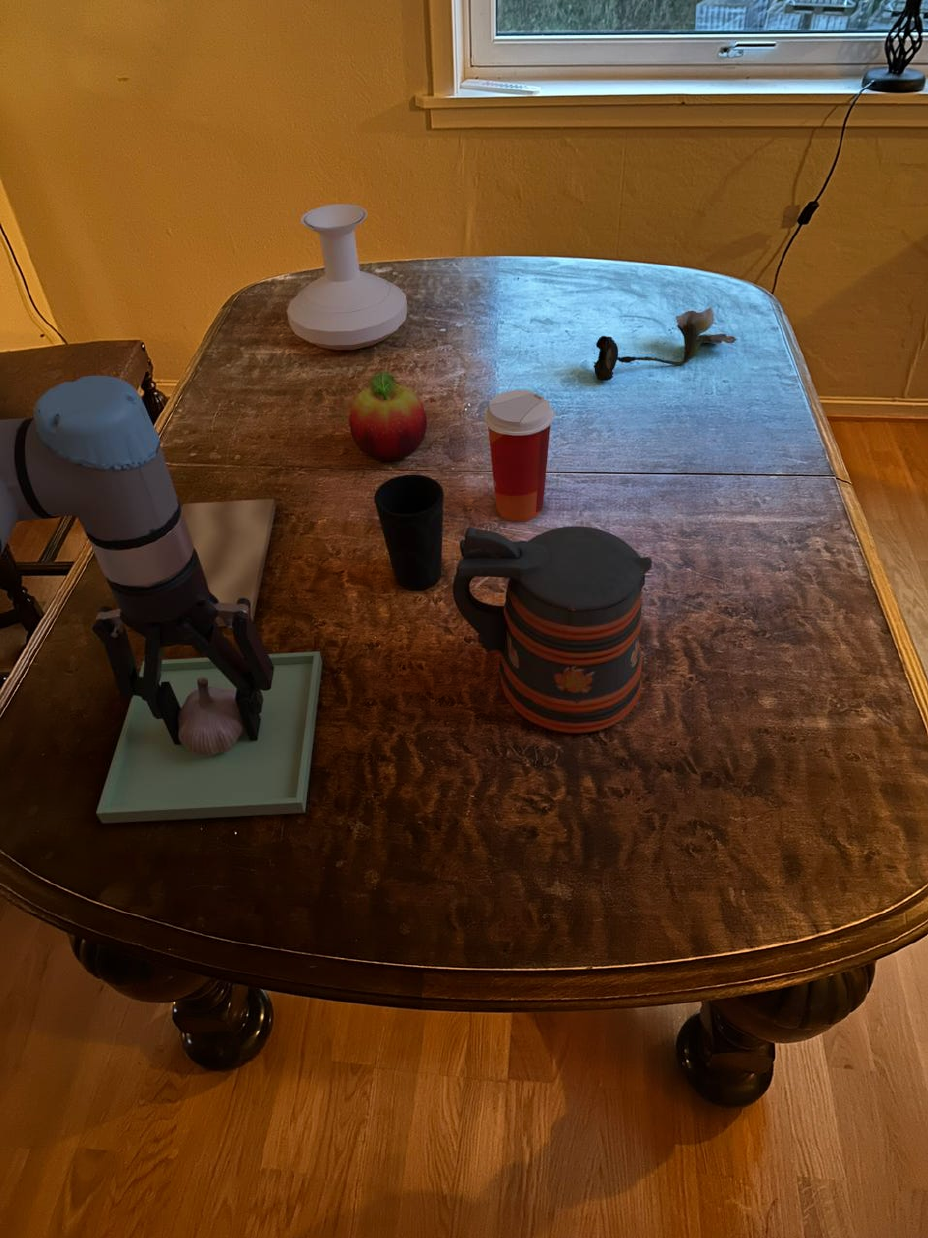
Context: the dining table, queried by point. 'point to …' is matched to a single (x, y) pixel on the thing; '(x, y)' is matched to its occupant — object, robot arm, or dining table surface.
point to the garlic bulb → (209, 720)
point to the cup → (412, 528)
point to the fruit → (387, 420)
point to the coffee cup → (519, 451)
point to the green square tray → (228, 781)
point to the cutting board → (231, 546)
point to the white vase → (344, 289)
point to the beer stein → (560, 622)
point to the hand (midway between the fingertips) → (218, 731)
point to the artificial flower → (689, 327)
